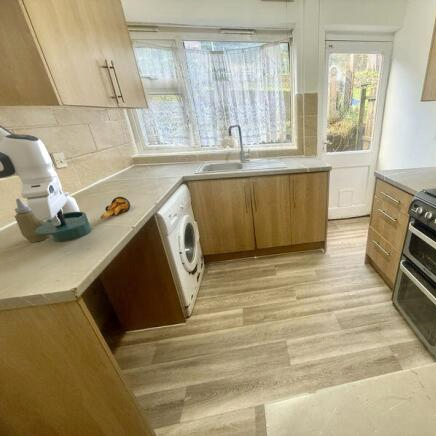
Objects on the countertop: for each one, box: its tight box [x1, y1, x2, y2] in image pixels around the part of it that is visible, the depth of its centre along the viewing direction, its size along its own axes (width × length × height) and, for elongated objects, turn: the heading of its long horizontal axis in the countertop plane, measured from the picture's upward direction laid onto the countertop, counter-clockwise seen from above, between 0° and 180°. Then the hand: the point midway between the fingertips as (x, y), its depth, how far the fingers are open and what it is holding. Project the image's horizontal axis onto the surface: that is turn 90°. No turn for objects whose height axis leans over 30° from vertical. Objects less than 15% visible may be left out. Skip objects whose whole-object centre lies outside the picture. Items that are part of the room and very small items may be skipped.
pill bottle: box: [62, 191, 81, 214], centre depth 114 cm, size 8×8×15 cm
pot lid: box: [35, 212, 86, 236], centre depth 87 cm, size 14×14×6 cm
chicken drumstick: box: [100, 196, 131, 220], centre depth 123 cm, size 9×11×18 cm
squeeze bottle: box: [14, 198, 50, 243], centre depth 99 cm, size 8×8×18 cm
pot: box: [45, 211, 92, 243], centre depth 104 cm, size 13×18×8 cm
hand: (59, 222), depth 87 cm, fingers closed on pot lid, 3 cm apart
